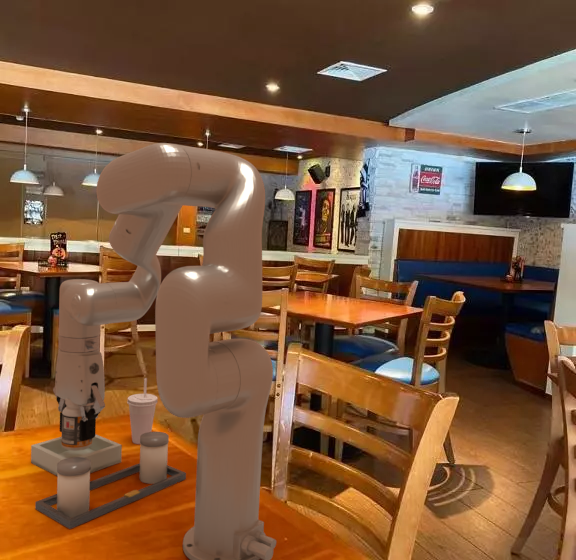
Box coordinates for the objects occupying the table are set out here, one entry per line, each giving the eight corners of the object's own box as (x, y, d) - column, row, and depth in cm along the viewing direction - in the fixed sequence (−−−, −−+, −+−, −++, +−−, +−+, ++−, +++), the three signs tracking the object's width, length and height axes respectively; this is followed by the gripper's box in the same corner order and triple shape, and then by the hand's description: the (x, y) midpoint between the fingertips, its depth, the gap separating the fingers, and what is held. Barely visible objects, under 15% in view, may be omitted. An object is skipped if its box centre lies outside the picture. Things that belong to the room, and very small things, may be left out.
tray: (121, 462, 117) (121, 445, 117) (67, 481, 107) (67, 462, 107) (84, 446, 124) (85, 429, 124) (31, 462, 114) (31, 445, 114)
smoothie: (146, 448, 125) (148, 383, 123) (119, 443, 127) (121, 379, 125) (161, 438, 131) (163, 376, 129) (136, 433, 133) (138, 372, 131)
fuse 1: (96, 509, 98) (97, 463, 97) (68, 521, 94) (69, 472, 93) (77, 499, 101) (78, 454, 100) (49, 510, 97) (50, 463, 96)
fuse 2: (172, 477, 111) (174, 436, 111) (151, 486, 107) (153, 443, 107) (154, 469, 114) (155, 429, 114) (132, 478, 110) (134, 436, 110)
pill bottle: (82, 453, 112) (83, 402, 111) (55, 449, 113) (56, 399, 112) (97, 443, 118) (99, 394, 117) (71, 439, 119) (72, 391, 118)
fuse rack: (186, 479, 111) (186, 472, 111) (70, 529, 91) (70, 520, 91) (151, 464, 117) (151, 457, 117) (35, 508, 97) (35, 500, 97)
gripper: (124, 348, 112) (121, 441, 113) (70, 334, 122) (68, 419, 123) (89, 354, 105) (87, 452, 107) (36, 339, 116) (34, 428, 117)
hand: (77, 433), depth 115 cm, fingers closed on pill bottle, 5 cm apart
